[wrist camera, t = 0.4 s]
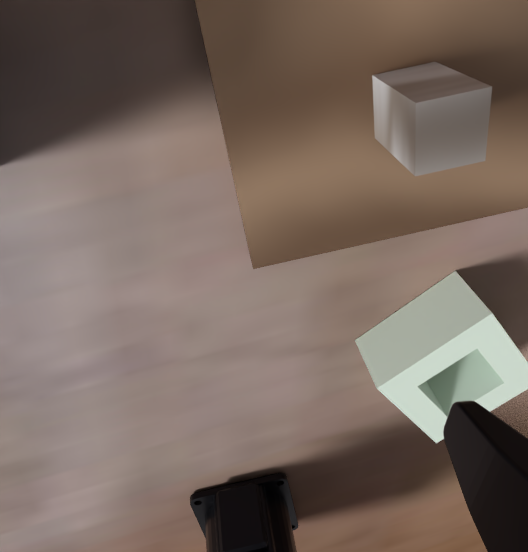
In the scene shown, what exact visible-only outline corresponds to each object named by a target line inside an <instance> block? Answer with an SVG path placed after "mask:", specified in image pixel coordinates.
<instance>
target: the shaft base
mask: <svg viewBox="0 0 528 552" xmlns="http://www.w3.org/2000/svg"><path fill="white" fill-rule="evenodd" d="M195 4H196V9H197V14H198V18H199V23H200V27H201V32H202V37H203V41H204V46H205V50H206V55H207V60H208V64H209V69H210V73H211V78H212V83H213V87H214V92H215V96H216V101H217V106H218V110H219V115H220V119H221V124H222V129H223V133H224V138H225V142H226V147H227V152H228V156H229V161H230V165H231V170H232V175H233V179H234V184H235V188H236V193H237V198H238V202H239V207H240V211H241V216H242V220H243V225H244V230H245V234H246V239H247V243H248V248H249V253H250V257H251V261H252V265H253V269H255V268H260V267H264V266H269V265H273V264H278V263H282V262H287V261H291V260H296V259H300V258H304V257H309V256H313V255H318V254H322V253H327V252H331V251H336V250H340V249H345V248H349V247H354V246H358V245H362V244H367V243H371V242H376V241H380V240H385V239H389V238H394V237H398V236H403V235H407V234H411V233H416V232H420V231H425V230H429V229H434V228H438V227H443V226H447V225H452V224H456V223H460V222H465V221H469V220H474V219H478V218H483V217H487V216H492V215H496V214H501V213H505V212H509V211H514V210H518V209H523V208H527V207H528V0H195Z"/></svg>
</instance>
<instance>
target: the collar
mask: <svg viewBox="0 0 528 552" xmlns="http://www.w3.org/2000/svg"><path fill="white" fill-rule="evenodd" d="M355 342H356V344H357V346H358V348H359V350H360V353H361V355H362V357H363V359H364V361H365V364H366V366H367V368H368V370H369V372H370V374H371V377H372V379H373V381H374V383H375V385H376V388H377V389H378V390H379V391H380V392H381V393H382V394H383V395H385V396H386V397H387V398H388V399H389V400H390V401H391V402H392V403H393V404H394V405H395V406H396V407H398V408H399V409H400V410H401V411H402V412H403V413H404V414H405V415H406V416H407V417H408V418H409V419H411V420H412V421H413V422H414V423H415V424H416V425H417V426H418V427H419V428H420V429H421V430H422V431H424V432H425V433H426V434H427V435H428V436H429V437H430V438H431V439H432V440H433V441H434V442H435V443H438V442H440V441H441V440H443V439H444V435H443V430H444V426H445V423H446V420H447V417H448V415H449V412H450V409H451V406H452V404H454V403H455V402H457V401H475V402H477V403H478V404H480V405H481V406H483V407H484V408H485V409H487V410H488V411H492V410H493V409H495V408H497V407H498V406H500V405H502V404H503V403H505V402H507V401H508V400H510V399H512V398H513V397H515V396H517V395H518V394H520V393H522V392H524V391H525V390H527V389H528V362H527V361H526V359H525V358H524V357H523V355H522V354H521V352H520V351H519V350H518V348H517V347H516V345H515V344H514V343H513V341H512V340H511V339H510V337H509V336H508V334H507V333H506V332H505V330H504V329H503V327H502V326H501V325H500V323H499V322H498V320H497V319H496V318H495V316H494V315H493V314H492V312H491V311H490V310H489V309H488V308H487V307H486V305H485V304H484V303H483V302H482V301H481V300H480V298H479V297H478V296H477V295H476V294H475V293H474V292H473V290H472V289H471V288H470V287H469V286H468V285H467V284H466V282H465V281H464V280H463V279H462V278H461V277H460V275H459V274H458V273H457V272H456V271H454V272H453V273H451V274H450V275H448V276H447V277H446V278H444V279H443V280H441V281H440V282H438V283H437V284H435V285H434V286H433V287H431V288H430V289H428V290H427V291H425V292H424V293H422V294H421V295H420V296H418V297H417V298H415V299H414V300H412V301H411V302H409V303H408V304H407V305H405V306H404V307H402V308H401V309H399V310H398V311H396V312H395V313H394V314H392V315H391V316H389V317H388V318H386V319H385V320H383V321H382V322H381V323H379V324H378V325H376V326H375V327H373V328H372V329H370V330H369V331H368V332H366V333H365V334H363V335H362V336H360V337H359V338H357V339H356V340H355Z"/></svg>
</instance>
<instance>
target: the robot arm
mask: <svg viewBox="0 0 528 552" xmlns="http://www.w3.org/2000/svg"><path fill="white" fill-rule="evenodd" d="M443 435H444V440H445V443H446V446H447V449H448V452H449V455H450V458H451V461H452V464H453V466H454V469H455V472H456V475H457V478H458V481H459V484H460V487H461V490H462V493H463V495H464V498H465V501H466V504H467V506H468V509H469V511H470V514H471V516H472V518H473V521H474V523H475V525H476V527H477V529H478V532H479V534H480V536H481V538H482V540H483V542H484V545H485V547H486V549H487V551H488V552H528V438H526V437H525V436H523V435H522V434H521V433H519V432H518V431H516V430H515V429H514V428H512V427H511V426H509V425H508V424H506V423H505V422H504V421H502V420H501V419H499V418H498V417H497V416H495V415H494V414H492V413H491V412H490V411H488V410H487V409H485V408H484V407H483V406H481V405H480V404H478V403H477V402H475V401H457V402H455V403H454V404H452V406H451V409H450V412H449V415H448V417H447V420H446V423H445V426H444V430H443ZM190 505H191V507H192V509H193V511H194V514H195V516H196V518H197V520H198V522H199V525H200V527H201V529H202V531H203V533H204V536H205V538H206V548H207V552H297V551H296V546H295V541H294V536H293V530H295V529H297V528H298V522H297V518H296V514H295V509H294V505H293V501H292V497H291V493H290V489H289V484H288V480H287V476H286V475H285V474H283V473H278V474H274V475H270V476H266V477H261V478H257V479H253V480H249V481H244V482H240V483H236V484H232V485H228V486H223V487H219V488H215V489H211V490H207V491H202V492H198V493H195V494H193V495H191V497H190Z"/></svg>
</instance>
